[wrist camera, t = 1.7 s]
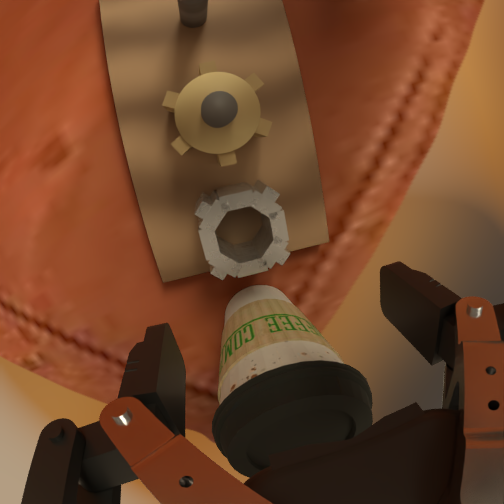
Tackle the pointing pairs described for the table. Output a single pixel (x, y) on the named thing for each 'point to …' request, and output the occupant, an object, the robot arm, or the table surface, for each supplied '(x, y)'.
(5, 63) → the table surface
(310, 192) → the gear board
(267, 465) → the coffee cup
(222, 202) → the steel gear
